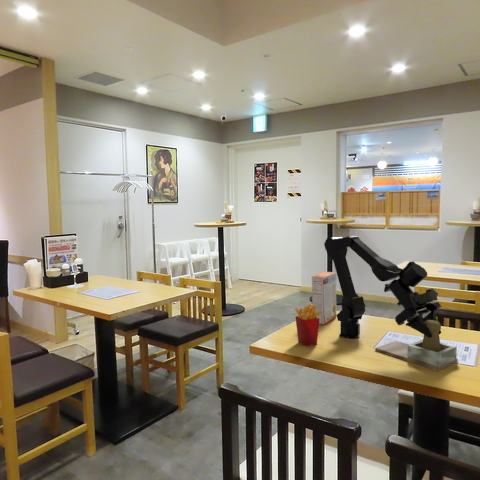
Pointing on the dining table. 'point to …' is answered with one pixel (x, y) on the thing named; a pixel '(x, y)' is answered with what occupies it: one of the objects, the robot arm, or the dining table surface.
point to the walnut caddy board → (421, 354)
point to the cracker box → (324, 296)
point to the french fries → (307, 325)
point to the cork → (434, 341)
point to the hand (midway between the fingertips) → (435, 335)
